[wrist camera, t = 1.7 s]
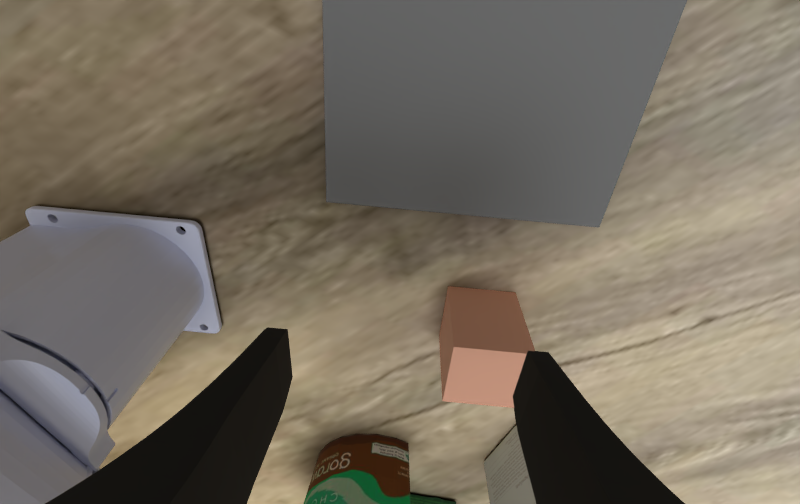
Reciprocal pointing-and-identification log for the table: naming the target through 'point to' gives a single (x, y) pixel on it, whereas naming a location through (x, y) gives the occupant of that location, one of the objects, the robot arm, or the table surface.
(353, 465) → the food container
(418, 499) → the coffee box
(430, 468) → the table surface
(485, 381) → the block
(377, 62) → the mat
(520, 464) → the product box
